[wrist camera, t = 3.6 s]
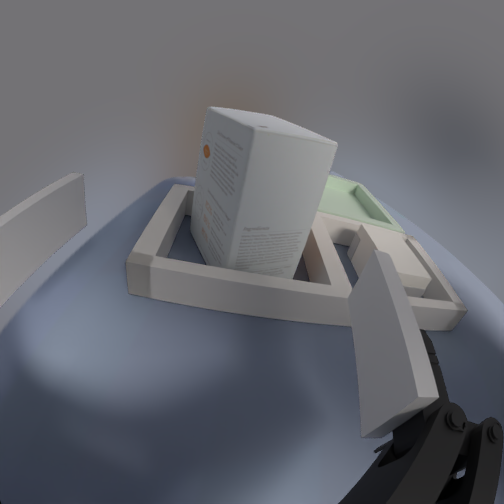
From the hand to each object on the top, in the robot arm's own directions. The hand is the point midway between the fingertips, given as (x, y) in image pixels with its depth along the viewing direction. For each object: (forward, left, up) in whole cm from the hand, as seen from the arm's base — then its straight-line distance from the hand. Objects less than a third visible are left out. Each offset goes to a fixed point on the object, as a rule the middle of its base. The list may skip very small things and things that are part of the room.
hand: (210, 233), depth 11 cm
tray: (-14, -22, -6) cm, 27 cm away
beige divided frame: (-8, -8, -6) cm, 13 cm away
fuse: (-15, -8, -6) cm, 18 cm away
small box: (-2, -8, -7) cm, 11 cm away
